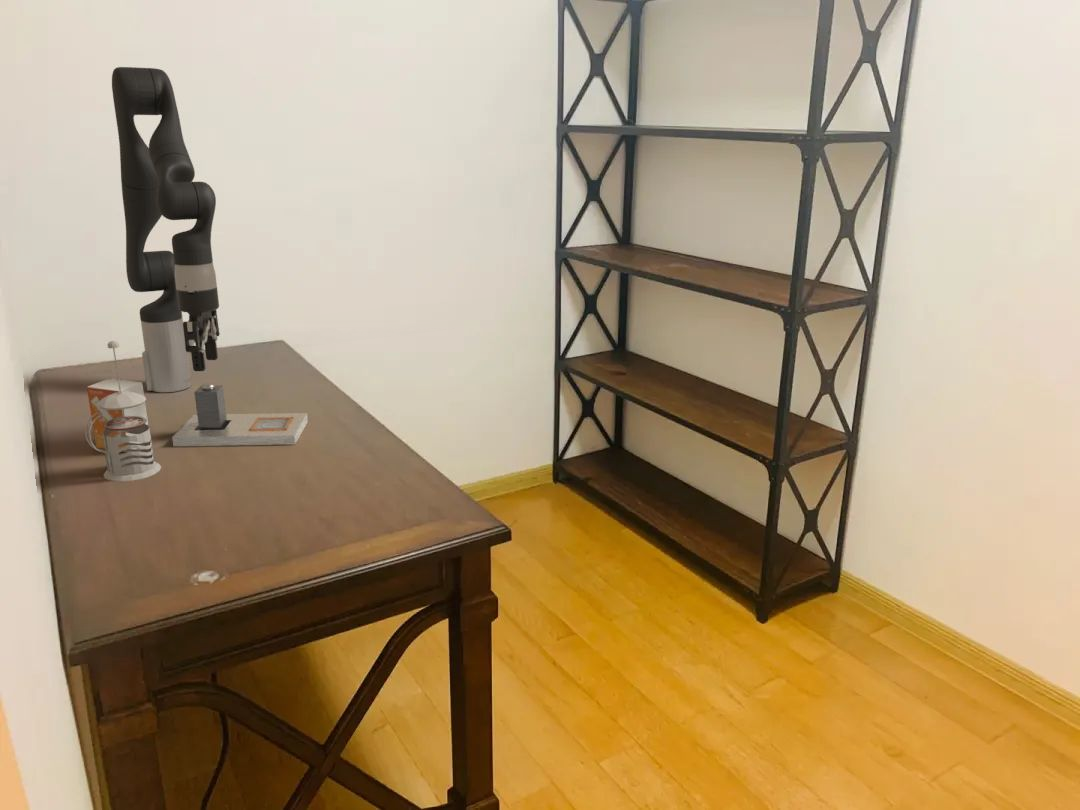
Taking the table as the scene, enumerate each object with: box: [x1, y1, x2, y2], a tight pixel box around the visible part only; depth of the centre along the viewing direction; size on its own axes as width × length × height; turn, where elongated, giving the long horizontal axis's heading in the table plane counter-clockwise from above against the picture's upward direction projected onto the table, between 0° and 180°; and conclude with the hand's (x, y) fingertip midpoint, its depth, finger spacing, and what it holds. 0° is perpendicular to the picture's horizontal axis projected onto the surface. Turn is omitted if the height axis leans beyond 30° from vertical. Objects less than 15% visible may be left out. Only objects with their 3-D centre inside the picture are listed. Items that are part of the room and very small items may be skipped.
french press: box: [84, 340, 162, 482], centre depth 151 cm, size 10×12×25 cm
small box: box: [86, 378, 149, 453], centre depth 166 cm, size 8×6×13 cm
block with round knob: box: [194, 382, 227, 430], centre depth 173 cm, size 4×4×11 cm
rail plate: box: [172, 412, 309, 448], centre depth 175 cm, size 24×14×2 cm, turn 95°
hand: (206, 365), depth 170 cm, fingers open, 8 cm apart
